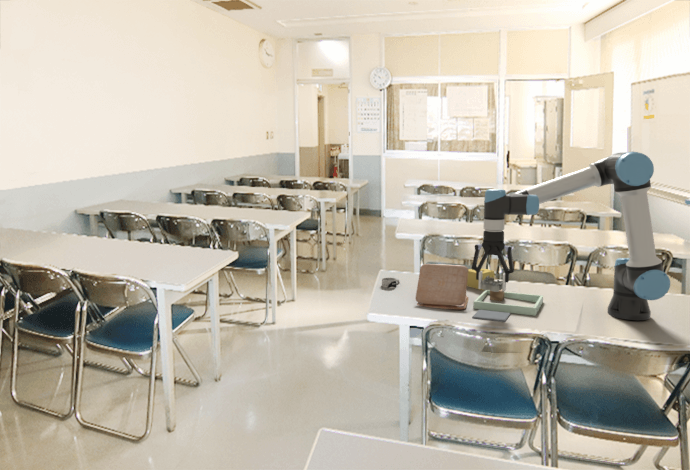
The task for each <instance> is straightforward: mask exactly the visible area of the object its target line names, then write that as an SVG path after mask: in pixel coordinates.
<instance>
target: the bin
mask: <svg viewBox="0 0 690 470" xmlns="http://www.w3.org/2000/svg"><path fill="white" fill-rule="evenodd" d="M488 295H489V296H490V290H483V292H482V293H481V294H480V295H479V296H478V297H476V299H474V300H473V302H472V303H473V304H472V305H473V307H472V308H473V309H475V310H488V311H497V312H506V313H510V314H515V315H517V314H518V315H527V316H536V315H537V314H538V313H539V310H540V309H541V307H542V305H543V303H544V295H540V294H531V293H522V292H520V293H519V292H510V291H509V292H508V291H504V298H508V299H515V300H521V301H527V302H533V303H535V304H534V306H533V307H532V306H527V305H519V304H518V305H516V304H509V303H508V304H506V303H500V302H499V303H498V302H497V303H496V302H488V301H483V300H484V299H485V298H486V297H487V296H488Z"/></svg>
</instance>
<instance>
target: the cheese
mask: <svg viewBox="0 0 690 470" xmlns="http://www.w3.org/2000/svg"><path fill="white" fill-rule="evenodd" d="M480 271H482V281H483V280H484V279H485V278H486V277H487V276H488V275H489V277H492V278H494V279H495V276H496V275H495V270H494V269H493V270H492V269H489V268H481V270H480ZM478 286H479V280H477V279H476V271H475V270H472V269H471V268H468V280H467V287H469V288H472V289H476V290H479V291H484V290H483V289H478Z"/></svg>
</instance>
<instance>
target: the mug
mask: <svg viewBox="0 0 690 470" xmlns="http://www.w3.org/2000/svg"><path fill="white" fill-rule="evenodd" d="M398 283H399V284H401V283H400V279H398V278H395V277H382V278H381V286H382V288H386V289H395V288H397V284H398Z"/></svg>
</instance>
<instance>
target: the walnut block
mask: <svg viewBox="0 0 690 470" xmlns="http://www.w3.org/2000/svg"><path fill="white" fill-rule="evenodd" d="M504 292H505V291H502V289H501V290H499V292H494V291H490V295H489V300H491V301H496V302H503V300H504V299H505V297H504Z"/></svg>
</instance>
